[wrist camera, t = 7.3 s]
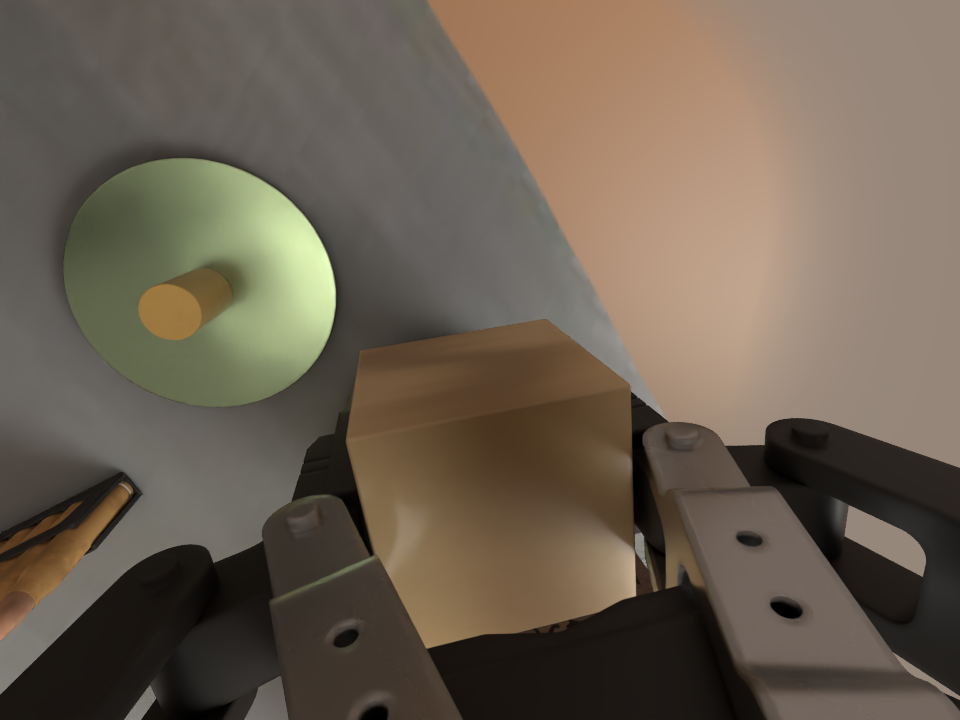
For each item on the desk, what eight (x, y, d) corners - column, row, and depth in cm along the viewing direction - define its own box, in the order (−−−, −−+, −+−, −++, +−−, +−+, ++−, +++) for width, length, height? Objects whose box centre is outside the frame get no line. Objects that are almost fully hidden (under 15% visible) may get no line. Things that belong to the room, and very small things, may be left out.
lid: (25, 314, 27) (-70, 346, 21) (157, 99, 25) (91, 71, 19) (257, 439, 32) (229, 494, 26) (384, 265, 30) (384, 282, 24)
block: (394, 512, 13) (399, 663, 9) (359, 350, 12) (344, 439, 7) (559, 477, 14) (637, 603, 9) (546, 318, 12) (631, 384, 8)
